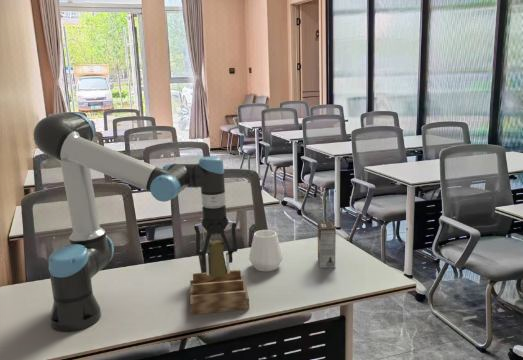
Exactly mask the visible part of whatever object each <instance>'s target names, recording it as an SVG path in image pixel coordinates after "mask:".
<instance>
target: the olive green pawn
mask: <svg viewBox="0 0 523 360" xmlns="http://www.w3.org/2000/svg"><path fill="white" fill-rule="evenodd" d="M211 241H212V242H210V244H209V246H208V247H209V251H210V252H211V253H210V267H209V275H210V276H212V277H222V276H224V275H226V274H227V263H226V257H225V254H224V250H225V248H226V246H225V243H224V241H222V240H211Z"/></svg>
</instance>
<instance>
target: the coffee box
mask: <svg viewBox="0 0 523 360" xmlns="http://www.w3.org/2000/svg"><path fill="white" fill-rule="evenodd" d="M336 235H337V234H336V227H335V223H334V221H318V222H317V260H318V264H319V268H320V267H321V268H320V269H324V268H323V267H335V268H336V243H337V242H336Z"/></svg>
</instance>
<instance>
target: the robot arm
mask: <svg viewBox="0 0 523 360" xmlns="http://www.w3.org/2000/svg"><path fill="white" fill-rule="evenodd" d="M95 133H96V132H95V126H94V125H93V122H92V121H91V120H90V119H89V118H88V117H87V116H86V115H84V114H82V113H79V112H66V113H65V112H64V113H60V114H56V115H49V116H46V117H44V118H42V119H41V120H39V121H38V123H37V124H36V125H35V127H34V129H33V141H34V143H35V146H36V147H37V149H39V150H40V151H41V152H42V153H44V154H45V155H47V156H49V157H51V158H53V159H55V160H56V161H59V163H60V168H61V173H62V177H63V183H64V188H65V189H64V190H65V194H66V199H67V205H68V210H69V218H70V222H71V228H72V233H71V234H70V235H69V237H68V239H69V244H68V245H65V246H63V247H59V248H57V249H55V250H54V251H52V253H50V255H49V257H48V272H49V278H50V282H51V284H50V285H51V291H52V297H53V304H52V308H51V313H50V318H49V319H50V327H51V328H52V329H53V330H55V331H58V332H74V331H76V332H77V331H80V330H83V329H86V328H89V327H91V326H93V325H94V324H96V323H97V322H98V321H99V320H100V318H101V317H102V312H101V306H100V305H99V303H98V301H97V299H96V297H95V295H94V292H93V285H92V278H93V277H94V276H95V275H97V274H98V273H99V272H100V271H101V270H102V269H104V268H105V267H107V266H108V265H109V263H110V261H111V260H112V259H113V256H114V252H115V246H114V243H113V241H112V239H111V238H109V237H108V235H107V233H106V230H105V229H103V228H102V227H101V225H100V221H99V220H100V219H99V215H98V210H97V209H98V208H97V203H96V202H97V201H96V198H95V193H94V191H95V190H94V185H93V179H92V173H91V170H93V171H96V172H98V173H101V174H103V175H106V176H108V177H112V178H115V179H116V180H118V181H121V182H124V183H126V184H129V185H132V186H134V187H136V188H139V189H142V190H145V191H147V192H149V193H150V194H151V196H152V197H154V199H155V200H157V201H159V202H164V203H165V202H169V201H171V200H173V199H175V198H176V197H178V195H179V194H180V193H181V192H182V191H184V190H185V189H188V188H189V189H190V188H192V189H193V188H195V189H196V188H197V189H198V188H200V191H201V192H200V193H201V194H200V196H201V205H202V207H201V208H202V220H201V222H200V223H194V225H193V226H194V227H193V228H194V231H195V252H196V255H197V256H198V255H201V256H202V263H203V265H206V269H207V275H209V264H208V254H206V252H207V248H208V244H209V240H211V236H212V235H214V234H218V235H219V234H220V235H221V238H222V240H223V241H222V242H223V243H224V246H225V248H226V250H227V251H225V263H226V268H227V274H228V273H230V263H232V264H233V253H236V252H238V243H237V233H236V227H237V223H236V221H235V220H229V219H228V218H227V207H226V202H227V200H226V189H225V188H226V187H225V169H224V160H223V159H222V157H220V156H215V155H214V156H213V155H211V156H204V157H203V156H202V157H200V158H199V159H198V160H199V161H198V163H170V164H169V163H168V164H164V165H163V167H162V168H160V167H158V166H156V165H153V164H150V163H148V162H145V161H142V160H140V159H137V158H135V157H133V156H130V155H128V154H125V153H122V152H119V151H117V150H115V149H112V148H109V147H107V146H104V145H102V144H99V143H97V142H95V141H93V140H94V138H95V135H96V134H95ZM227 226H228V228H229V229H230V231H231V233H230V234H231V239H232V247H231V244H230V241H229V239H228V237H227V235H226V233H225V229H226V227H227ZM202 227H203V229H205V231H206V234H205V242H204V245H203V249H202V250H200V242H201V232H202Z"/></svg>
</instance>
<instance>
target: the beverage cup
mask: <svg viewBox="0 0 523 360" xmlns="http://www.w3.org/2000/svg"><path fill="white" fill-rule="evenodd" d="M201 233H202V239H203V240H200V250H202V249H203V245H204V242H205V238H206V236H205V233H204V227H203V228H201ZM212 241H213V240H212V239H210V240H209V244H210V242H212ZM209 244H208V246H209ZM210 253H211V252H210V251H209V247H208V248H207V252H206V254H208V264H209V267H210ZM197 256H198V261H199V266H200V267H199V268H200V273H207V269H206V265H203V263H202V256H201V255H197Z"/></svg>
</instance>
